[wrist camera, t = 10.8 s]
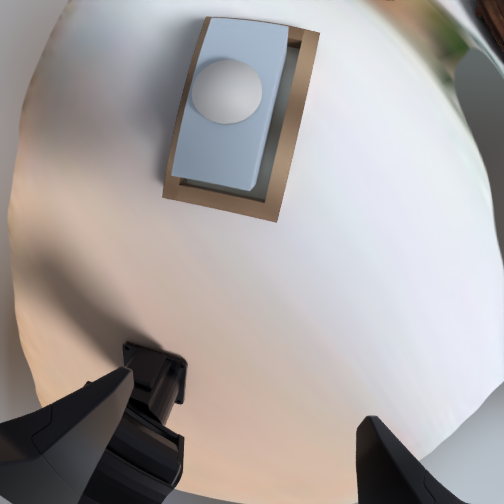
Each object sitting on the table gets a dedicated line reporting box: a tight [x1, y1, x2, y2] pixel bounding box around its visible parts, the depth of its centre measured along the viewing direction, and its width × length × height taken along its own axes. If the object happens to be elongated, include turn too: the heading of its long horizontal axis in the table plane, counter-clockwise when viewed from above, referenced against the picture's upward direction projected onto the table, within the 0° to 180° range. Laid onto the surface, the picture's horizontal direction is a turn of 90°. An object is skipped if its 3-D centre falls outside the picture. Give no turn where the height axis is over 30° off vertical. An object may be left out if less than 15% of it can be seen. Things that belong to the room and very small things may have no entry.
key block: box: [171, 18, 289, 191], centre depth 13 cm, size 4×9×6 cm, turn 168°
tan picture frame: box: [162, 17, 320, 223], centre depth 16 cm, size 13×8×2 cm, turn 168°
